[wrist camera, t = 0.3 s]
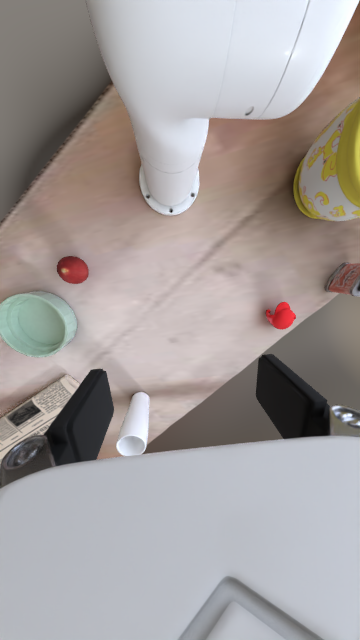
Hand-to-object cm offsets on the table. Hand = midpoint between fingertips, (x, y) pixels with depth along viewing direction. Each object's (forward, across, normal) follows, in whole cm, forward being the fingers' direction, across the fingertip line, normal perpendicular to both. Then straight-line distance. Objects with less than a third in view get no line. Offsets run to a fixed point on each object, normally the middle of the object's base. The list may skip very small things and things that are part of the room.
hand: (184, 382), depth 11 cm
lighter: (+36, -44, -1) cm, 57 cm away
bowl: (+36, +32, +5) cm, 49 cm away
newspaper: (+36, +42, +38) cm, 67 cm away
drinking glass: (+36, +12, +31) cm, 49 cm away
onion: (+36, +21, -7) cm, 43 cm away
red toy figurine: (+36, -28, +7) cm, 46 cm away
